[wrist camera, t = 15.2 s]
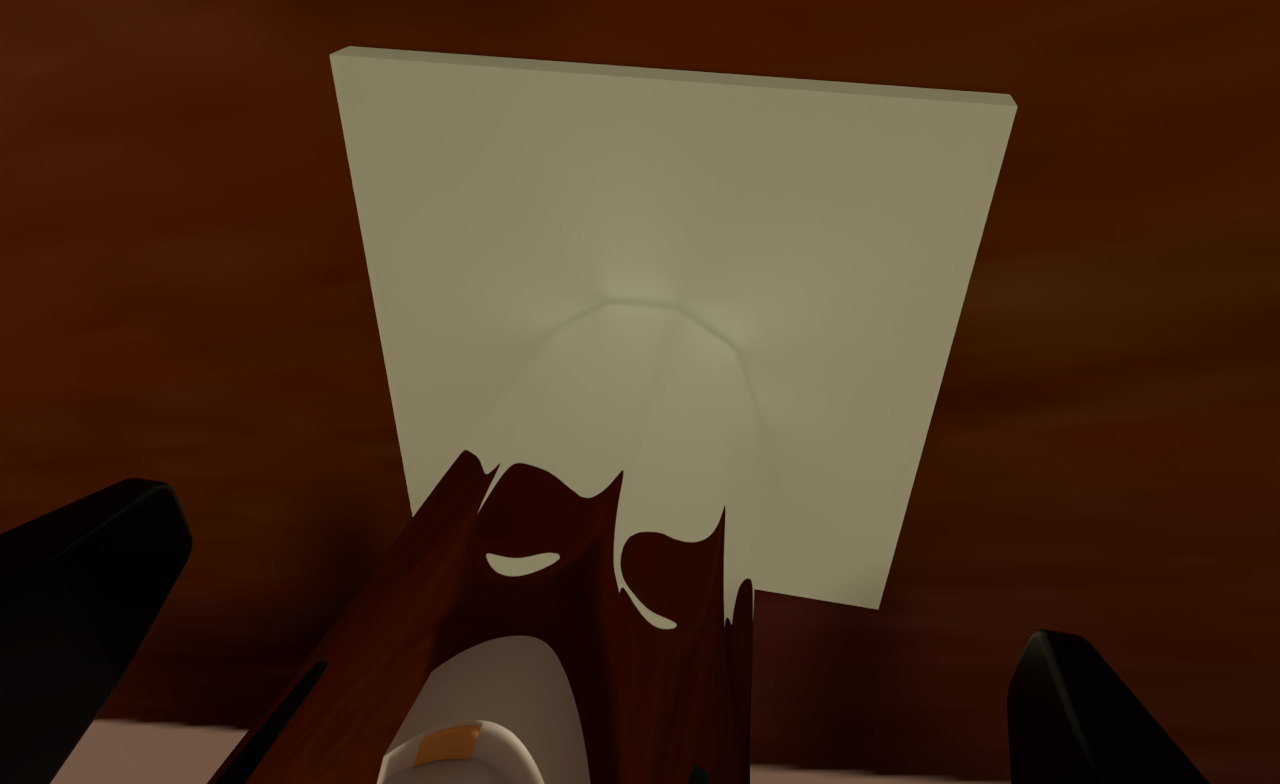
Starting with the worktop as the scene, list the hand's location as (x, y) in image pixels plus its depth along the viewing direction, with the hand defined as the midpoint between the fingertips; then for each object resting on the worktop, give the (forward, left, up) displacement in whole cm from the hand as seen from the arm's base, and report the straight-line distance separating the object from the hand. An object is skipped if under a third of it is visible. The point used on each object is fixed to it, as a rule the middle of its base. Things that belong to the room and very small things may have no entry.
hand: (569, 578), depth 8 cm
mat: (0, 0, -4) cm, 4 cm away
